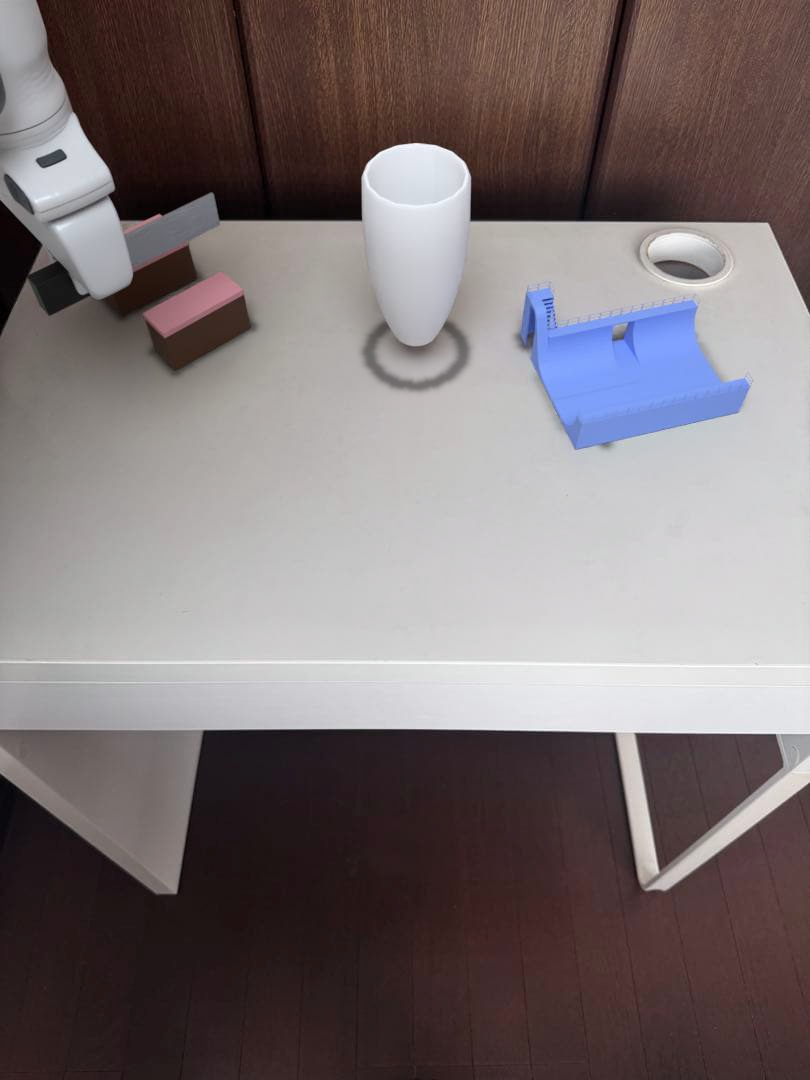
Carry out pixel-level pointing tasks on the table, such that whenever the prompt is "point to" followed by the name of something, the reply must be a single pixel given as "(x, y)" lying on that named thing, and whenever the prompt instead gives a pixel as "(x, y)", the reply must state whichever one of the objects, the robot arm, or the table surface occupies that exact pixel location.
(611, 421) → the half pipe
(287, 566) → the table surface
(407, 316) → the cup
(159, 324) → the cake slice
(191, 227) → the knife
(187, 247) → the cake
